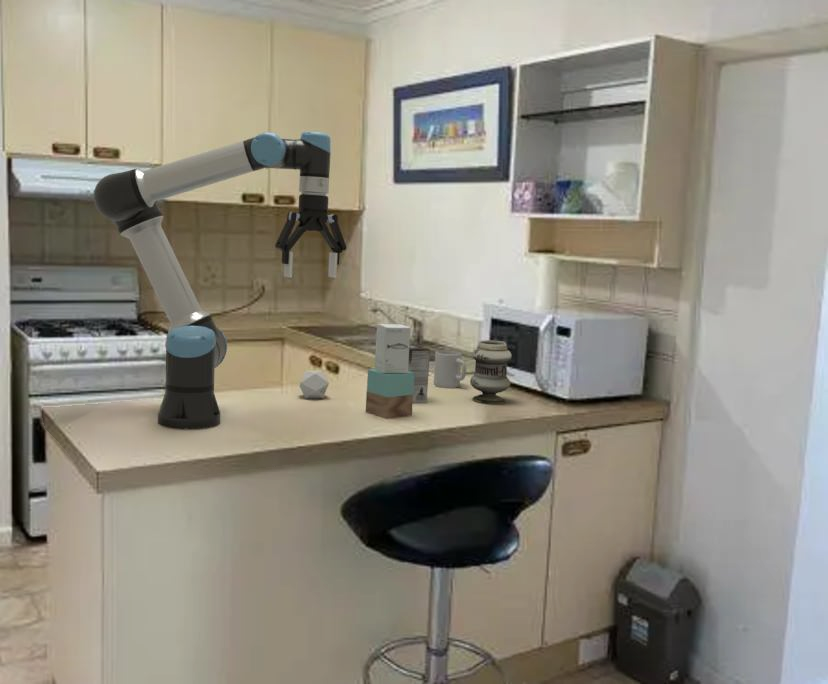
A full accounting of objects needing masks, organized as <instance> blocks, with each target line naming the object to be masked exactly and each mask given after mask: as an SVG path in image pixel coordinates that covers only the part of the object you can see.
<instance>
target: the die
mask: <svg viewBox="0 0 828 684" xmlns="http://www.w3.org/2000/svg"><path fill="white" fill-rule="evenodd" d="M299 383H300V384H299V386H298V387H299V388H300V390H301V392H302V395H303V397H304V399H315V398H323V399H324V396H325V394H326V392H327V389H328V387H329V385H330V382H329V380H328V378H327V376H326V374H325V373H324V370H305V371H304V373H303V376H302V378H301V381H300V382H299Z"/></svg>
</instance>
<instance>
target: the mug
mask: <svg viewBox="0 0 828 684" xmlns="http://www.w3.org/2000/svg"><path fill="white" fill-rule="evenodd" d="M434 354H435V355H434V357H435V358H434V373H433V386H434V385H435V386H434V387H437V386H438V388H441V387H445V388H444V389H457V388H456V387H458V388H459V387H460V386H461V385H460V384H461V381H463V380H465V378H466V375H467V364H466V362H465V361H464V360H462V352H460V351H455V350H436V351H435V353H434ZM461 370H462V371H461Z"/></svg>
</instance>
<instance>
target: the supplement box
mask: <svg viewBox="0 0 828 684" xmlns="http://www.w3.org/2000/svg"><path fill="white" fill-rule="evenodd" d="M375 333H376V336H375V353H374V369H376V370H378V371H379V372H381V373H383V374H384V373H408V362H409V345H410V343H411V327H410V326H407V325H404V324H399V323H397V324H395V323H392V324H391V323H377V324H376V332H375Z"/></svg>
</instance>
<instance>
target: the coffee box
mask: <svg viewBox="0 0 828 684" xmlns="http://www.w3.org/2000/svg"><path fill="white" fill-rule="evenodd" d="M430 355H431V349H430V348H428V347H426V346H423V345H421V344H413V343H412V344H410V345H409V362H408V371H410V372H413V373H414V390H413V402H412V404H419V403H423V404H424V403H425V404H426V403H428V388H429V385H428V384H429V375H430V374H429V373H430V357H431V356H430Z"/></svg>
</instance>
